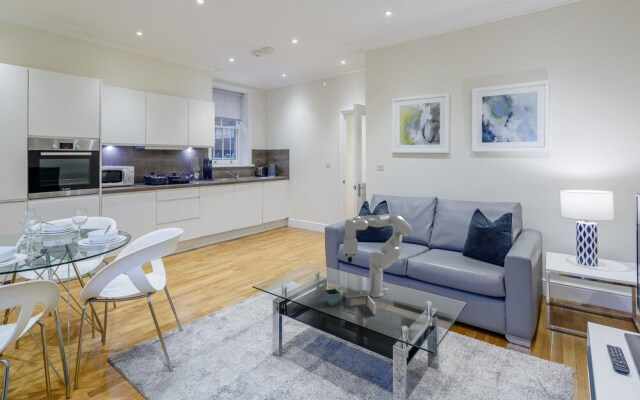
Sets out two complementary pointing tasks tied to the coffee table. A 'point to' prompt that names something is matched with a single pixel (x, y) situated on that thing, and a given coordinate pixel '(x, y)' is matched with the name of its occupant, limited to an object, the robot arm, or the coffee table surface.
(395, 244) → the robot arm
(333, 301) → the flower pot
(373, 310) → the side door
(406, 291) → the coffee table surface
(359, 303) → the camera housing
